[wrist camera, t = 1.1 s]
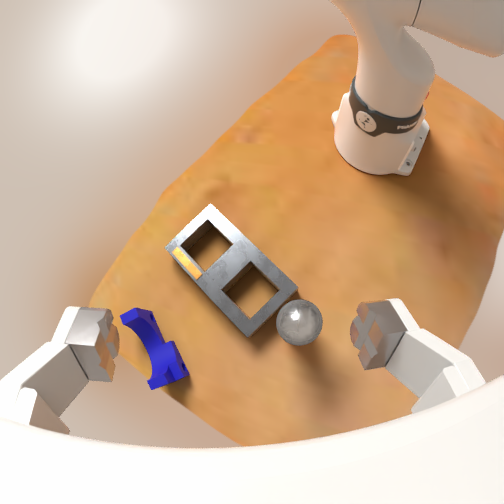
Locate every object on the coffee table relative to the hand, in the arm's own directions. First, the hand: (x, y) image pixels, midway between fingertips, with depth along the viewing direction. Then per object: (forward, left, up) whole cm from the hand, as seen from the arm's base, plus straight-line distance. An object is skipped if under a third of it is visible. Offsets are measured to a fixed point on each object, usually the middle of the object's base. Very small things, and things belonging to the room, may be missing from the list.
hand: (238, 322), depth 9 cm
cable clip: (+15, -11, -37) cm, 41 cm away
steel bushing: (-3, +1, -36) cm, 36 cm away
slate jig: (-2, -12, -36) cm, 38 cm away
